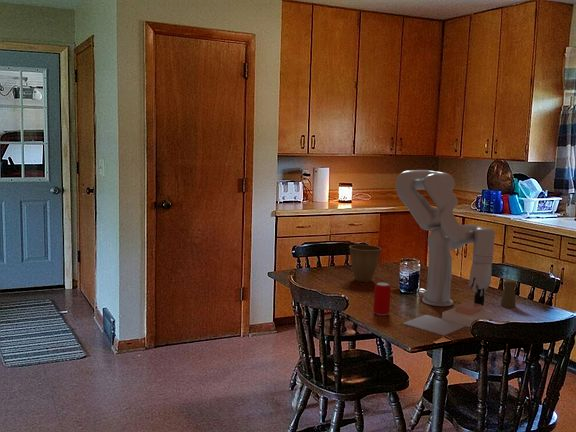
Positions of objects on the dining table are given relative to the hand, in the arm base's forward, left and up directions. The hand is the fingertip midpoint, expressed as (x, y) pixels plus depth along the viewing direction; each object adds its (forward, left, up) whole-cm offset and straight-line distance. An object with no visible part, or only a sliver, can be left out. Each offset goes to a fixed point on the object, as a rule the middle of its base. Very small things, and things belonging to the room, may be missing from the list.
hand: (478, 304), depth 240 cm
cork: (+2, +22, -4) cm, 22 cm away
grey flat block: (0, -9, -4) cm, 10 cm away
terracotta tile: (0, -8, -1) cm, 8 cm away
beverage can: (-26, -29, -4) cm, 39 cm away
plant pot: (-63, +9, -4) cm, 63 cm away
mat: (-5, -25, -4) cm, 26 cm away
